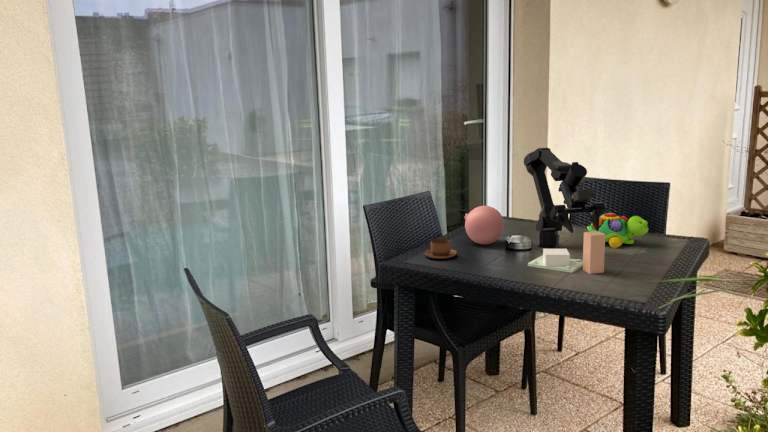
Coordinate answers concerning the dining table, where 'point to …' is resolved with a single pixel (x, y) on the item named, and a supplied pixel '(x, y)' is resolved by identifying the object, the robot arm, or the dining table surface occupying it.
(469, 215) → the balloon
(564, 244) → the dining table surface
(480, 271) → the dining table surface
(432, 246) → the cup and saucer
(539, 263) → the tower base
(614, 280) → the dining table surface
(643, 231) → the turtle toy
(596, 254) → the column brick
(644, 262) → the dining table surface
